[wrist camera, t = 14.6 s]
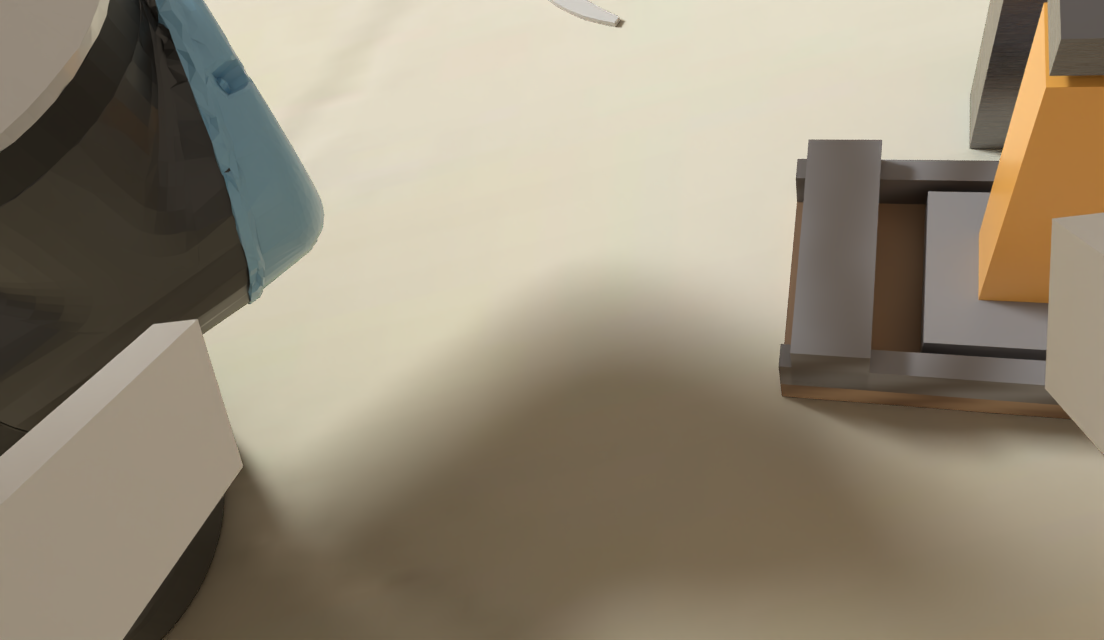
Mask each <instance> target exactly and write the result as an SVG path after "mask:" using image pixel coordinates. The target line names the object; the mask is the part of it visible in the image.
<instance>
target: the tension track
mask: <svg viewBox="0 0 1104 640" xmlns="http://www.w3.org/2000/svg"><path fill="white" fill-rule="evenodd" d="M881 150H882V140H809V143H808V155H807V159H798V162H797V173H796V188H797V209H796V220H795V231H794V242H793V253H792V264H791V275H790V286H789V298H788V309H787V320H786V331H785V342H784V344H781V348H780V358H779V373H780V382H781V391H782V396H786V397H799V398H811V399H824V400H836V401H849V402H861V403H874V404H887V405H899V406H912V407H924V408H937V409H949V410H962V411H975V412H987V413H1000V414H1012V415H1025V416H1037V417H1050V418H1063V419H1071V418H1070V416H1069V415H1068V414H1067V413H1066V412H1065V411H1064V410H1063V408H1062V407H1061V406H1060V405H1059V404H1058V403H1057V402H1056V400H1055V399H1054V398H1053V397H1052V396H1051V395H1050V394H1049V392H1048V391H1047V390H1046V389H1045V374H1046V361H1039V360H1024V359H1008V358H993V357H977V356H962V355H946V354H930V353H920V348H921V317H922V285H923V254H924V223H925V207H926V202H927V196H928V191H932V192H986V193H991V189H992V186H993V182H994V179H995V175H996V171H997V168H998V164H999V161H953V160H881Z"/></svg>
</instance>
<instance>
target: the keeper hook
mask: <svg viewBox="0 0 1104 640" xmlns="http://www.w3.org/2000/svg"><path fill="white" fill-rule="evenodd" d="M1046 2H1048V41H1049V76H1082V75H1104V0H990V5H989V9H988V14H987V19H986V24H985V28H984V33H983V38H982V43H981V47H980V52H979V57H978V61H977V66H976V71H975V76H974V80H973V85H972V90H971V94H970V148H1003V147H1004V143H1005V139H1006V136H1007V132H1008V129H1009V125H1010V122H1011V118H1012V115H1013V111H1014V107H1015V104H1016V100H1017V97H1018V93H1019V90H1020V86H1021V82H1022V79H1023V75H1024V72H1025V68H1026V65H1027V61H1028V58H1029V54H1030V50H1031V47H1032V43H1033V40H1034V36H1035V33H1036V29H1037V25H1038V22H1039V18H1040V15H1041V11H1042V8H1043V4H1044V3H1046Z"/></svg>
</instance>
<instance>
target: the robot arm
mask: <svg viewBox="0 0 1104 640" xmlns="http://www.w3.org/2000/svg"><path fill="white" fill-rule="evenodd" d="M323 220H324V210H323V205H322V202H321V199H320V197H319V194H318V192H317V190H316V188H315V186H314V184H313V182H312V181H311V179H310V177H309V175H308V173H307V172H306V170H305V168H304V166H303V164H302V163H301V161H300V159H299V157H298V156H297V154H296V152H295V150H294V149H293V147H292V145H291V144H290V142H289V140H288V139H287V137H286V135H285V134H284V132H283V130H282V129H281V127H280V125H279V123H278V122H277V120H276V118H275V117H274V115H273V113H272V112H271V110H270V108H269V107H268V105H267V104H266V102H265V100H264V99H263V97H262V95H261V94H260V92H259V91H258V89H257V87H256V86H255V84H254V83H253V81H252V80H251V78H250V77H249V76H248V75H247V73H246V71H245V70H244V66H243V65H242V63H241V62H240V60H239V58H238V57H237V55H236V54H235V52H234V50H233V49H232V47H231V45H230V44H229V42H228V40H227V38H226V36H225V34H224V33H223V31H222V29H221V28H220V26H219V25H218V23H217V21H216V20H215V18H214V16H213V15H212V13H211V12H210V10H209V8H208V7H207V5H206V4H205V2H204V0H0V640H161V639H162V638H163V637H164V636H165V635H166V634H167V632H168V631H169V630H170V629H171V628H172V627H173V626H174V624H175V623H176V622H177V621H178V619H179V618H180V617H181V616H182V614H183V613H184V611H185V610H186V609H187V607H188V606H189V604H190V603H191V601H192V599H193V598H194V596H195V595H196V593H197V591H198V589H199V587H200V585H201V584H202V582H203V579H204V577H205V575H206V573H207V571H208V568H209V566H210V564H211V561H212V558H213V555H214V552H215V549H216V546H217V542H218V539H219V534H220V530H221V525H222V517H223V507H224V493H225V492H226V490H227V489H228V488H229V486H230V485H231V483H232V482H233V480H234V479H235V477H236V476H237V475H238V473H239V472H240V470H241V469H242V467H243V464H242V461H241V458H240V454H239V451H238V448H237V445H236V441H235V438H234V435H233V432H232V428H231V425H230V422H229V419H228V415H227V412H226V409H225V406H224V403H223V399H222V396H221V393H220V390H219V386H218V383H217V380H216V377H215V373H214V370H213V367H212V364H211V360H210V357H209V354H208V351H207V348H206V344H205V341H204V338H203V335H202V334H204V333H205V332H207V331H208V330H210V329H211V328H213V327H214V326H215V325H217V324H218V323H220V322H221V321H223V320H224V319H226V318H227V317H229V316H230V315H231V314H233V313H234V312H236V311H237V310H239V309H240V308H242V307H243V306H245V305H246V304H247V303H248V304H251V303H253V302H254V301H255V300H256V299H258V298H260V296H261V294H262V292H263V289H264V288H265V287H266V286H267V285H269V284H270V283H271V282H272V281H274V280H275V279H276V278H277V277H279V276H280V275H281V274H282V273H284V272H285V271H286V270H287V269H289V268H290V267H291V266H292V265H294V264H295V263H296V262H297V261H299V260H300V259H301V258H302V257H303V256H305V255H306V254H307V253H308V252H309V251H310V250H311V249H312V248H313V246H314V245H315V243H316V242H317V238H318V237H319V235H320V233H321V231H322V228H323ZM1045 389H1046V390H1047V391H1048V392H1049V394H1050V395H1051V396H1052V397H1053V398H1054V399H1055V400H1056V402H1057V403H1058V404H1059V405H1060V406H1061V407H1062V408H1063V410H1064V411H1065V412H1066V413H1067V414H1068V415H1069V416H1070V418H1071V419H1072V420H1073V421H1074V422H1075V423H1076V424H1077V426H1078V427H1079V428H1080V429H1081V430H1082V431H1083V432H1084V433H1085V435H1086V436H1087V437H1088V438H1089V439H1090V440H1091V441H1092V443H1093V444H1094V445H1095V446H1096V447H1097V448H1098V449H1099V451H1100V452H1101V453H1102V454H1103V455H1104V212H1103V213H1095V214H1086V215H1078V216H1069V217H1061V218H1052V234H1051V257H1050V281H1049V304H1048V328H1047V351H1046V374H1045Z"/></svg>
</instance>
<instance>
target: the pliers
mask: <svg viewBox="0 0 1104 640" xmlns="http://www.w3.org/2000/svg"><path fill="white" fill-rule="evenodd" d="M549 1H550V2H551V3H553V4H554V5H556V6H557V7H558V8H560V9H562V10H564V11H566V12H568V13H570V14H572V15H574V16H577V17H579V18H581V19H584V20H587V21H591V22H595V23H598V24H603V25H608V26H613V27H616V26H617V24H618V23H619V22H620V19H619V16H617V15H615V14H612V13H610V12H608V11H606V10H604V9H602V8H600V7H599V6H597V5H595V4H593V3H591V2H590V1H588V0H549Z"/></svg>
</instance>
